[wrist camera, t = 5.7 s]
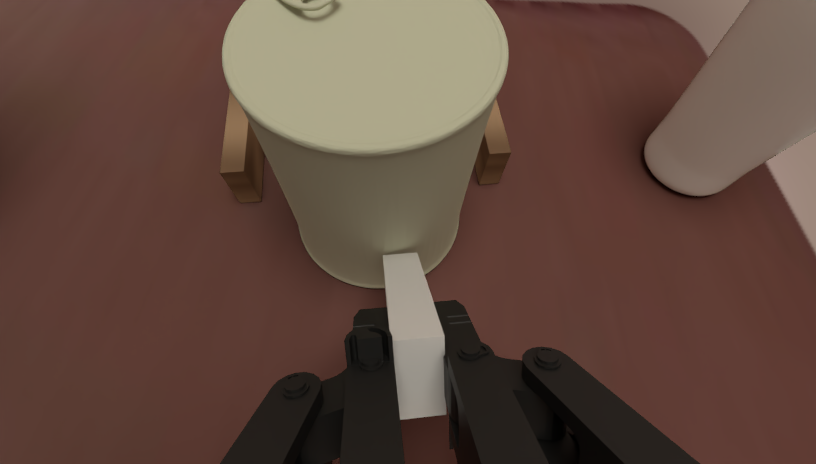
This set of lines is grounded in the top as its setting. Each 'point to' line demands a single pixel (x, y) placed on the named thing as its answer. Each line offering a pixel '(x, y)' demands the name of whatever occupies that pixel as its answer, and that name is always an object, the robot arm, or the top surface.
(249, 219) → the top surface
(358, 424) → the robot arm
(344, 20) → the can
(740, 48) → the drinking glass
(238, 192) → the corral
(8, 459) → the top surface
